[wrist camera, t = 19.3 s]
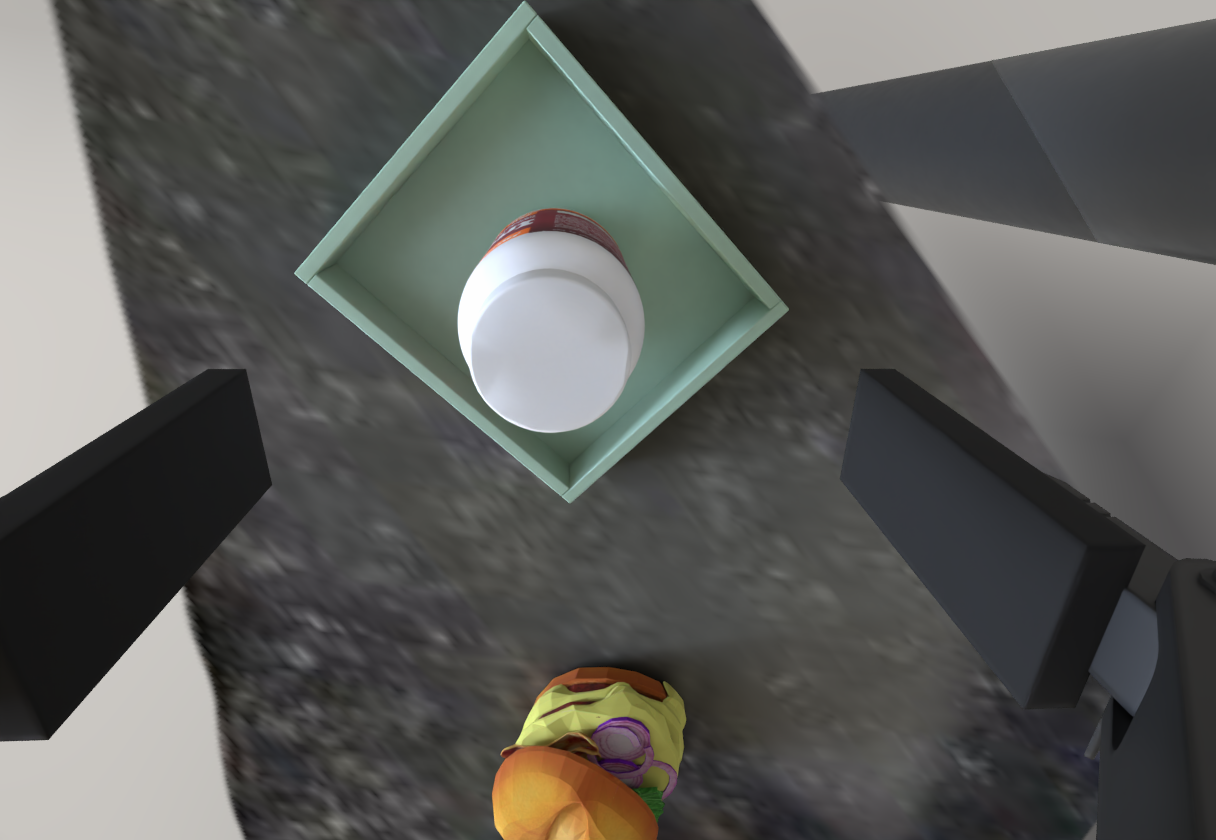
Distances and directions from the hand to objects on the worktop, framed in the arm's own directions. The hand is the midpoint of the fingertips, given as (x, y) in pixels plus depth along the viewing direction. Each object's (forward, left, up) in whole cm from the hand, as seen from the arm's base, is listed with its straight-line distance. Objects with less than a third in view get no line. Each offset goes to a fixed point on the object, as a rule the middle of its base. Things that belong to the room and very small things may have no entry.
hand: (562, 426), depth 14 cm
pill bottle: (0, 0, -16) cm, 16 cm away
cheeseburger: (-21, +18, -16) cm, 32 cm away
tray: (0, 0, -16) cm, 16 cm away
